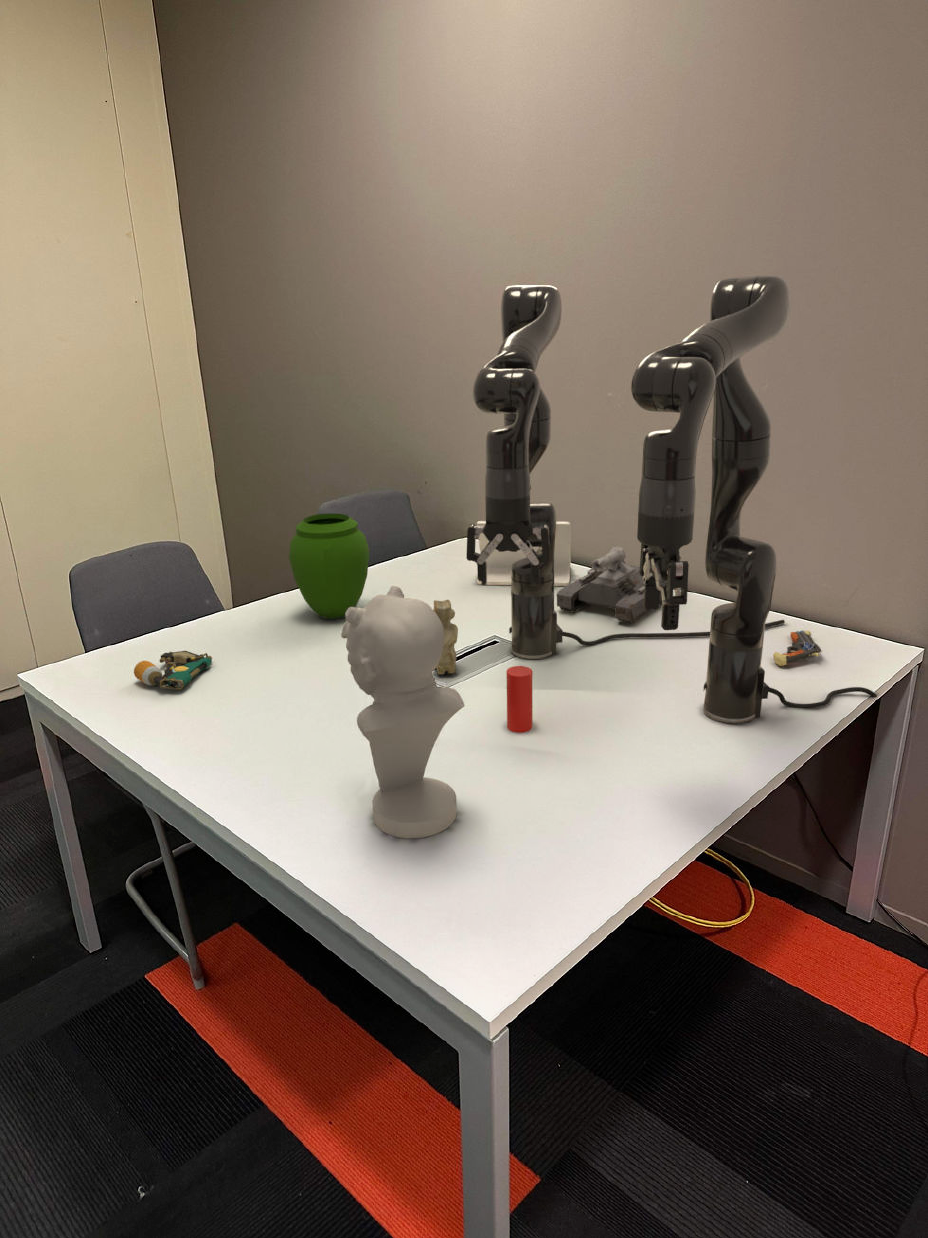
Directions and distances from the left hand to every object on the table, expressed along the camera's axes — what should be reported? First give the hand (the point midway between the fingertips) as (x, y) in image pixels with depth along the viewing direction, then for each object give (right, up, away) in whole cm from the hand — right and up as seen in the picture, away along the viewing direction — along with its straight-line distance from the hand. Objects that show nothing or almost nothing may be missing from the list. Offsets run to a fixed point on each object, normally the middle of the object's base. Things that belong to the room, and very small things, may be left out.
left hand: (508, 583), depth 149 cm
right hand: (+20, -6, -26) cm, 33 cm away
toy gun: (+63, -13, +35) cm, 74 cm away
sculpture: (-12, -17, +31) cm, 37 cm away
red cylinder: (+2, -26, +7) cm, 27 cm away
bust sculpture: (-18, -35, -17) cm, 43 cm away
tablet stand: (+9, +6, +90) cm, 91 cm away
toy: (+30, -3, +66) cm, 72 cm away
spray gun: (-68, -18, +32) cm, 78 cm away
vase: (-40, -5, +65) cm, 77 cm away
